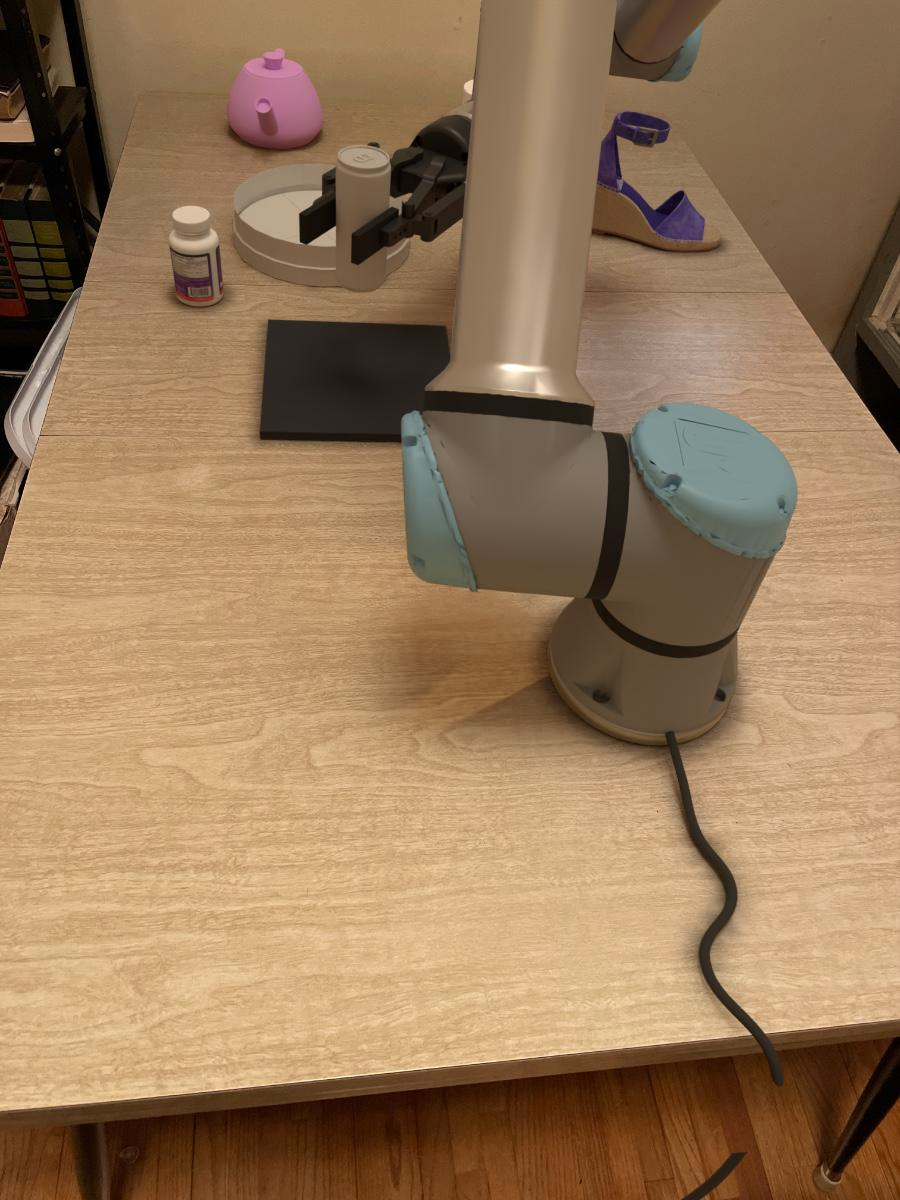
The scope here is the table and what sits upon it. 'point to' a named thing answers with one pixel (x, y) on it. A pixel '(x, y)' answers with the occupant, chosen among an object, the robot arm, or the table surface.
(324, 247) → the dish
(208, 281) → the pill bottle
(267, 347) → the mat
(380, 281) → the beverage can
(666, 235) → the sandal
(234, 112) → the teapot
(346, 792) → the table surface
